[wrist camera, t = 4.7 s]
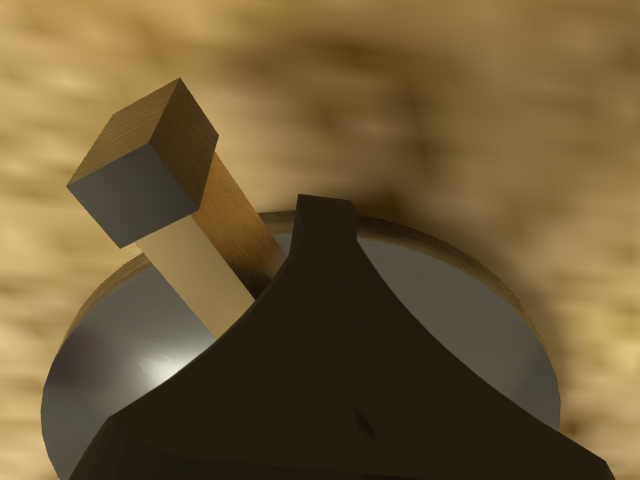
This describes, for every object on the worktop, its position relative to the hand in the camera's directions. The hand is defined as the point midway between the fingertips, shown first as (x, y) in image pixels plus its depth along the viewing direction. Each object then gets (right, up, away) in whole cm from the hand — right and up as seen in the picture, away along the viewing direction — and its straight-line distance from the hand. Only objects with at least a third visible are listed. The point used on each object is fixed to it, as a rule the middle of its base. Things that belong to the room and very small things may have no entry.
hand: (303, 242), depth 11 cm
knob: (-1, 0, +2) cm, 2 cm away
